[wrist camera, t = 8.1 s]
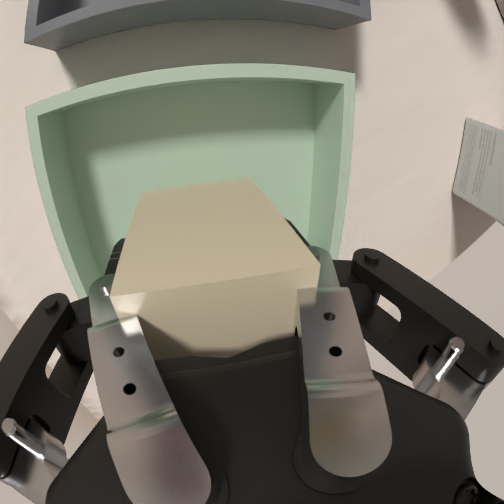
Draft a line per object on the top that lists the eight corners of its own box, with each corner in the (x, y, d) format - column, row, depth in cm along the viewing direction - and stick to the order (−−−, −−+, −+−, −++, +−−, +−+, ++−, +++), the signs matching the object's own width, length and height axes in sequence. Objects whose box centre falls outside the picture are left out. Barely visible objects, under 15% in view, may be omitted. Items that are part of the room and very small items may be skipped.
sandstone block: (250, 177, 11) (320, 264, 6) (252, 266, 14) (299, 377, 8) (141, 191, 10) (109, 296, 5) (160, 280, 13) (162, 402, 7)
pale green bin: (320, 75, 13) (355, 73, 10) (306, 283, 20) (326, 315, 17) (57, 102, 10) (25, 107, 7) (112, 313, 17) (106, 351, 15)
